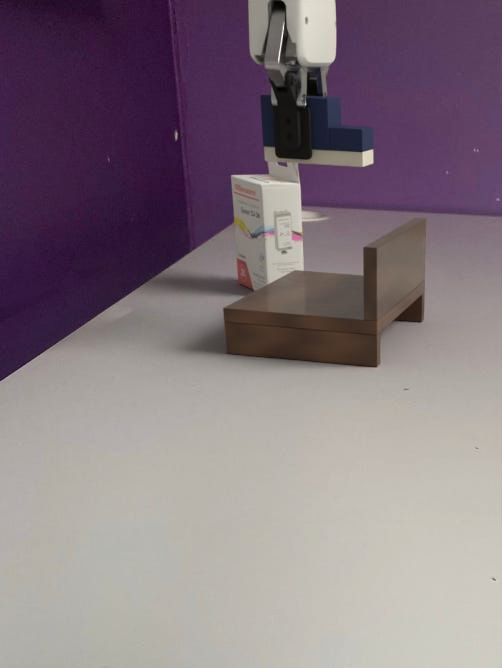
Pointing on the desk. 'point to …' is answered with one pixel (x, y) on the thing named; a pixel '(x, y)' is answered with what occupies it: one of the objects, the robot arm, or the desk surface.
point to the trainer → (323, 135)
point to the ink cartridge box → (267, 225)
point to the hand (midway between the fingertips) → (302, 154)
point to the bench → (334, 305)
